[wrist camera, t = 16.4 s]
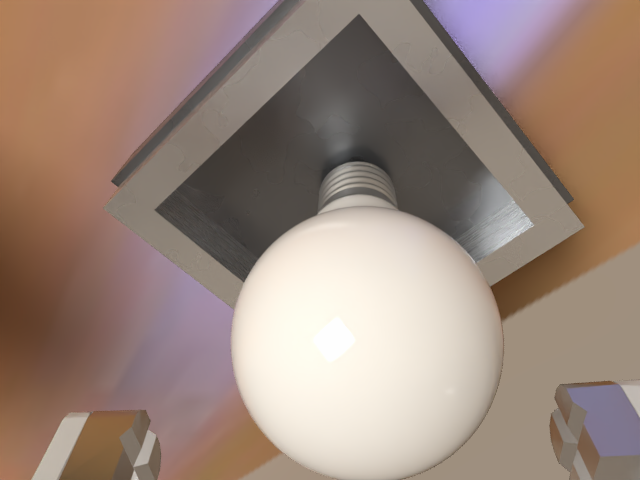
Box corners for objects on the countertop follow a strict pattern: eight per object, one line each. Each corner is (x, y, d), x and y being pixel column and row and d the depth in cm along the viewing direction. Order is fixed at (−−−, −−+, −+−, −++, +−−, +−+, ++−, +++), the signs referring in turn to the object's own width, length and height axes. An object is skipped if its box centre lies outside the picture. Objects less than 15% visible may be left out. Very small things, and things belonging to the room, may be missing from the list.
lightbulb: (245, 223, 20) (166, 497, 11) (310, 70, 17) (273, 279, 8) (393, 279, 22) (431, 567, 12) (479, 146, 18) (618, 403, 9)
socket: (331, 321, 26) (332, 392, 22) (132, 153, 22) (90, 207, 18) (550, 170, 22) (597, 227, 18) (357, -83, 17) (365, -79, 13)
